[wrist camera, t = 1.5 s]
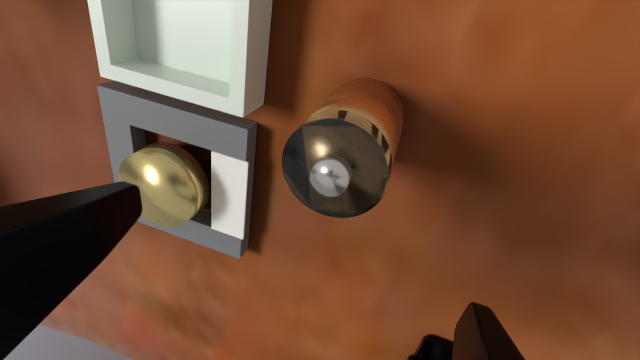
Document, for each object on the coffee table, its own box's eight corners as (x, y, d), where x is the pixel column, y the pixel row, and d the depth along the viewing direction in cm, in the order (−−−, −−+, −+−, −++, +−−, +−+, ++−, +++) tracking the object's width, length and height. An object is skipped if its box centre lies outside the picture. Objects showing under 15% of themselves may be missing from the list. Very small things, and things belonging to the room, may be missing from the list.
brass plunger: (209, 155, 20) (191, 168, 19) (209, 222, 23) (193, 238, 22) (135, 132, 21) (112, 142, 20) (144, 199, 24) (124, 213, 22)
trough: (279, -87, 14) (254, -100, 12) (263, 104, 19) (243, 117, 17) (111, -116, 16) (64, -132, 14) (133, 68, 20) (100, 76, 18)
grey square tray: (260, 123, 20) (250, 131, 19) (250, 249, 25) (241, 260, 24) (113, 80, 21) (95, 85, 20) (132, 206, 27) (119, 215, 25)
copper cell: (414, 89, 16) (401, 143, 10) (391, 161, 18) (370, 240, 12) (336, 69, 17) (281, 110, 11) (322, 141, 19) (270, 207, 13)
